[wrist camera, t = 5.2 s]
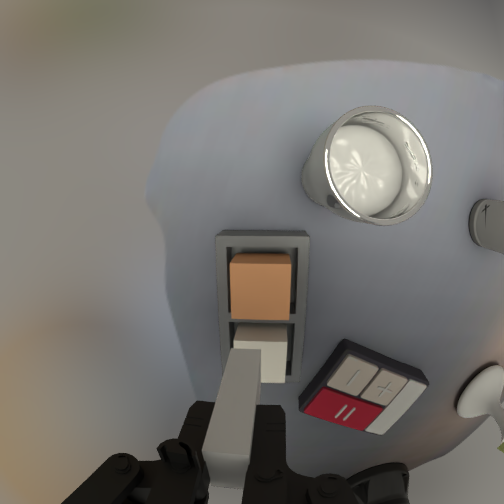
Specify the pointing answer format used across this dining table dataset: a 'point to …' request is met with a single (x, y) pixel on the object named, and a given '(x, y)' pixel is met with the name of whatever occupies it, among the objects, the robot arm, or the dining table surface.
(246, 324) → the cream key
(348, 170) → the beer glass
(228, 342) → the key housing
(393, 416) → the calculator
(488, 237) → the travel mug
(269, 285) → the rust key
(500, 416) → the flower in vase
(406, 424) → the dining table surface
